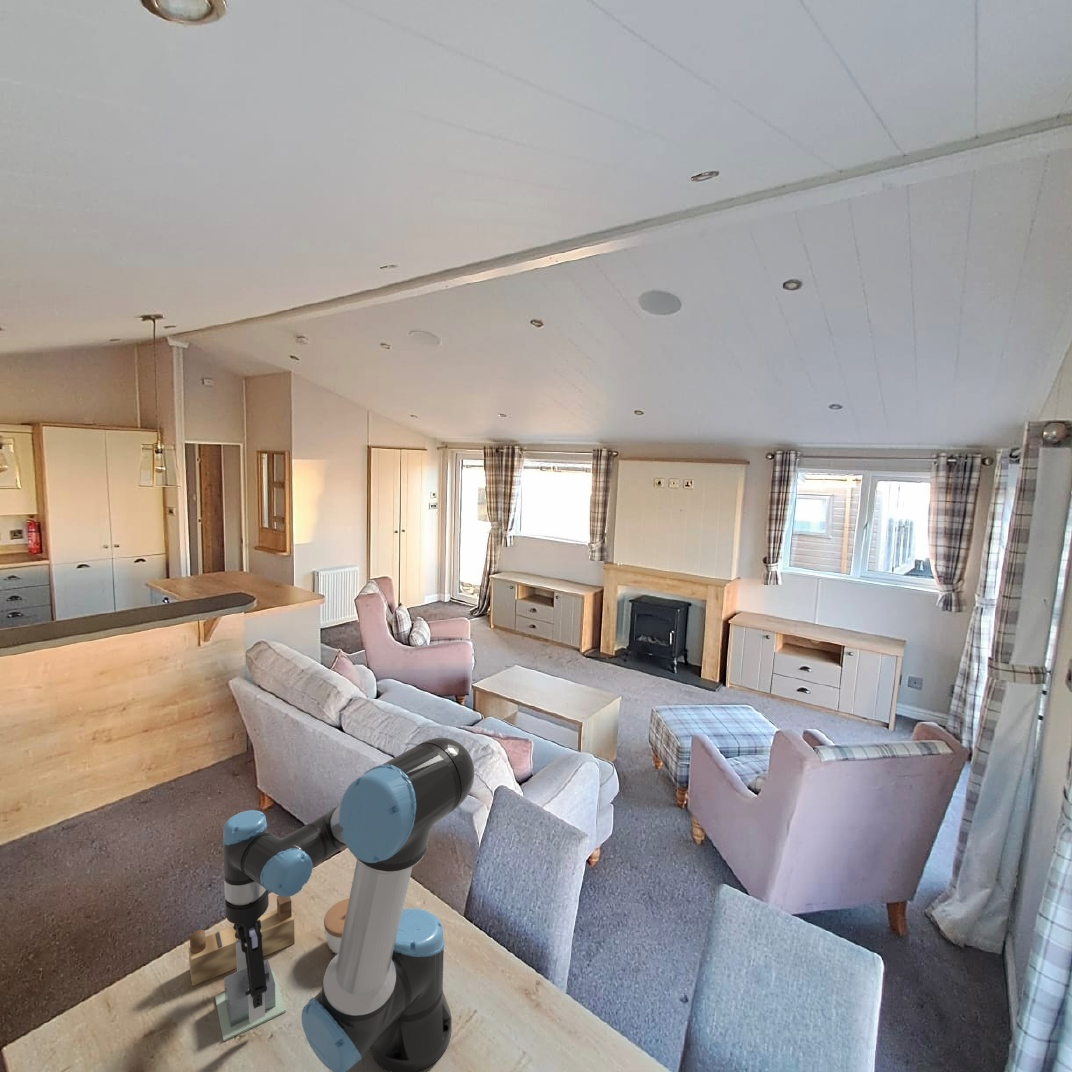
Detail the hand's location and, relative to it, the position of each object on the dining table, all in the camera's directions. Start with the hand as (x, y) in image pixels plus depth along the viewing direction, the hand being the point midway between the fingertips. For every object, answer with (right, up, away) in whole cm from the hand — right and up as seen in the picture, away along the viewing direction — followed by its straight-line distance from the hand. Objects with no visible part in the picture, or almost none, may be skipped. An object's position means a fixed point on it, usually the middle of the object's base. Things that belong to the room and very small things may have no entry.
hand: (250, 991), depth 118 cm
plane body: (-7, -1, +12) cm, 14 cm away
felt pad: (0, -3, 0) cm, 3 cm away
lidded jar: (+15, -2, +15) cm, 21 cm away
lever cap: (0, -3, 0) cm, 3 cm away
